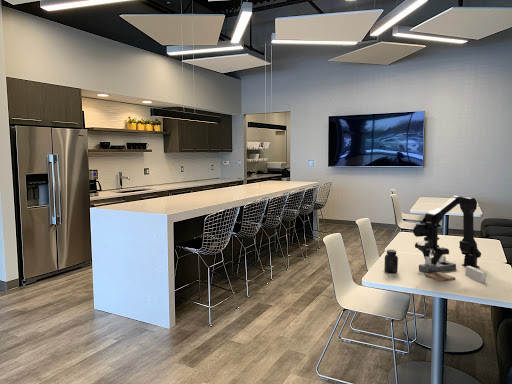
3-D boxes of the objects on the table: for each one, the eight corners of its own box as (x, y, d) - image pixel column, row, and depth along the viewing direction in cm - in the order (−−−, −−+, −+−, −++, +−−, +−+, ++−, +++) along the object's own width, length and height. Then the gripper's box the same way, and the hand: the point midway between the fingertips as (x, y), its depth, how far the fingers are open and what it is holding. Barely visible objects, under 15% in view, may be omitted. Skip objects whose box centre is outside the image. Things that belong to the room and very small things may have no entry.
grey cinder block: (445, 266, 218) (445, 261, 217) (456, 269, 211) (456, 264, 211) (418, 270, 210) (418, 264, 210) (428, 273, 204) (428, 268, 203)
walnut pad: (439, 273, 203) (439, 272, 203) (455, 279, 194) (455, 277, 194) (425, 276, 200) (425, 274, 200) (440, 281, 190) (440, 279, 190)
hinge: (442, 265, 220) (436, 248, 221) (434, 266, 222) (428, 250, 223) (446, 258, 234) (440, 242, 235) (437, 260, 237) (432, 244, 238)
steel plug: (430, 269, 211) (430, 255, 211) (436, 271, 208) (436, 257, 207) (424, 270, 210) (425, 256, 209) (430, 272, 206) (431, 257, 206)
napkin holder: (461, 274, 204) (461, 263, 204) (485, 277, 199) (486, 266, 199) (462, 282, 191) (462, 271, 191) (488, 285, 186) (489, 274, 186)
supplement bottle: (382, 270, 209) (382, 249, 208) (394, 270, 210) (394, 248, 209) (387, 274, 203) (388, 252, 202) (399, 274, 203) (400, 252, 202)
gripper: (407, 233, 213) (406, 260, 214) (434, 240, 195) (433, 269, 197) (423, 232, 217) (421, 258, 218) (450, 238, 200) (449, 267, 201)
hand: (430, 263), depth 208 cm, fingers open, 5 cm apart
